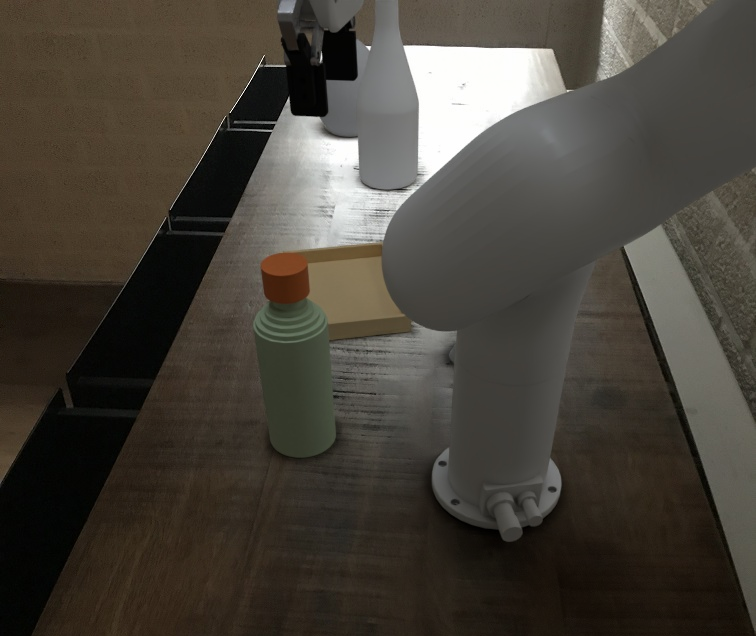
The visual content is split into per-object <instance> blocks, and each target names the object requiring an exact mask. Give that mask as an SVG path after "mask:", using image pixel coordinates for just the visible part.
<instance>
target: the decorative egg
mask: <svg viewBox="0 0 756 636" xmlns="http://www.w3.org/2000/svg"><path fill="white" fill-rule="evenodd" d="M356 45H357V66H358V77H357V78H356V80H355V81H338V80H326V83H327V97H328V110H329V111H328V114H327V115H326V116H325V117H319V119H320V121H321V123H322V124H323V126H324V127H325V128H326V130H327V131H328V132H329V133H330V134H332V135H335V136H337V137H344V138H353V137H358V127H357V98H358V94H359V89H360V85H361V82H362V78H363V75H364V71H365V67H366V63H367V60H368V56H369V52H370V49H369V48H368V46H366V45H365V43H363V42H362V41H361V40H360V39H358V38H356ZM320 63H322V59H321V60H320Z"/></svg>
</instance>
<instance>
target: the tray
mask: <svg viewBox="0 0 756 636" xmlns="http://www.w3.org/2000/svg"><path fill="white" fill-rule="evenodd" d="M382 246H383V241H378V242H368V243H358V244H347V245H337V246H336V245H335V246H327V247H325V246H324V247H316V248H306V249H295V250H285V251H282V253H296V254H299V255H302V256H303V257H305V258H306V260H307V262H308V274H309V285H310V293H309V295H308V296H307V297H306V298H308V299H309V300H311V301H312V302H314V303H315V304H317V305H319V306H320V307H321V308H322V309H323V311H324V312H325V314H326V315H327V318H328V330H329V341H335V340H345V339H353V338H364V337H371V336H382V335H389V334H401V333H408V332H409V333H410V332H412V320H410V319H409V318H408V317H407V316H405V315H404V314H403V313H402V312H401V311H400V310H399V308H398V307H397V306H396V305H395V303H394V302H393V300H392V299H391V297H390V295H389V293H388V290H387V288H386V285H385V282H384V278H383V272H382V260H381V256H382Z"/></svg>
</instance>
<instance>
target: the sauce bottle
mask: <svg viewBox="0 0 756 636" xmlns="http://www.w3.org/2000/svg"><path fill="white" fill-rule="evenodd" d="M252 328H253V334H254V342H255V348H256V354H257V361H258V362H257V363H258V368H259V369H258V370H259V375H260V382H261V388H262V394H263V395H262V396H263V401H264V402H263V403H264V408H265V414H266V423H267V428H268V434H269V440H270V444H271V446H272V447H273V449H274V450H276V452H278V453H280V454H281V455H284V456H286V457H290V458H296V459H299V458H300V459H302V458H311V457H315V456H318V455H321V454H322V453H324V452H326V451H327V450H329V449H330V448H331V447H332V445H333V444H334V443H335V441H336V438H337V428H336V427H337V426H336V415H335V413H336V412H335V401H334V388H333V386H334V385H333V373H332V371H333V370H332V359H331V358H332V357H331V347H330V340H329V330H328V318H327V315H326V314H325V312H324V311H323V309H322V308H321V307H320V306H319V305H317V304H315V303H314V302H312V301H311V300H309V299H308V298H305V299H303V300H301V301H298V302H295V303H290V304H279V303H274V302H272V301H270V300H268V302H267V303H266V304H264V305H263V307H262V308H260V309H259V310H258V312H257V313H256V315H255V317H254V319H253V322H252Z"/></svg>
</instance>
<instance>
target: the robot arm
mask: <svg viewBox="0 0 756 636" xmlns="http://www.w3.org/2000/svg"><path fill="white" fill-rule="evenodd" d="M275 1H276V2H275V3H276V8H277V13H276V14H277V15H276V19H277V23H278V26H279V31H280V34H281V37H280V43H281V44H280V45H281V47H282V49H283V63H284V65H285V70H286V80H287V82H286V83H287V90H288V100H289V111H290V114H291V115H292V116H294V117H306V118H307V117H308V118H320V117H325V116H326V115H327V114H328V111H329V110H328V97H327V83H326V80H338V81H355V80H356V78H357V77H358V66H357V45H356V39H357V31H356V30H355V29H356V25H357V24H356V22H357V21H356V15H357V14H358V13H359V11H360V10H361V9H362V8H363V7H364V3H365V0H275ZM307 36H311V43H310V41H309V39H308V37H307ZM321 60H322V63H320V62H321ZM755 168H756V0H715V1H714V2H713V3H711V4H710V5H708V6H707V7H706V8H705V9H703V10H702V11H701V12H700V13H699V14H698V15H696V16H695V17H694V18H693V19H692V20H691V21H689V22H688V23H687V24H686V25H685V26H684V27H683V28H682V29H681V30H679V31H678V32H677V33H675V34H674V35H672V37H670V38H669V39H667V40H666V41H665V42H663V43H662V44H661V45H660V46H658V47H657V48H656V49H653V51H651V52H650V53H648V54H647V55H646V56H644V57H643V58H641V59H640V60H639V61H637V62H635V63H634V64H632V65H631V66H629V67H628V68H626V69H625V70H623V71H621V72H619V73H617V74H614V75H613V76H609V77H607V78H604V79H601V80H597V81H595V82H592V83H589V84H586V85H583V86H581V87H578V88H575V89H572V90H570V91H567V92H564V93H561V94H559V95H556V96H553V97H549V98H548V99H547V98H546V99H544V100H542V101H539V102H537V103H534V104H530V105H528V106H526V107H523V108H521V109H518V110H517V111H514V112H513V113H511V114H509V115H507V116H505V117H503V118H502V119H500V120H499V121H497V122H495V123H494V124H492V125H491V126H489V127H488V128H486V129H484V131H482V132H480V133H479V134H478V135H477V136H476V137H474V138H473V139H472V140H471V141H470V142H469V143H467V144H466V145H465V146H464V147H463V148H462V149H460V150H459V151H458V152H457V153H456V154H455V155H454V156H453V157H452V158H451V159H449V160H448V161H447V162H446V163H445V164H444V165H443V166H442V167H441V168H439V169H438V170H437V171H436V172H435V173H433V175H432V176H430V177H429V178H428V179H427V180H426V181H425V182H424V183H423V184H422V185H420V186H419V187H418V188H417V189H416V190H415V191H414V192H413V193H411V195H410V196H408V197H407V199H405V201H403V203H402V204H401V205H399V207H398V209H397V210H396V211H395V212H394V214H393V216H392V217H391V219H390V220H389V222H388V225H387V227H386V230H385V234H384V235H383V236H384V238H383V241H382V242H383V246H382V256H381V260H382V272H383V278H384V282H385V285H386V288H387V290H388V293H389V295H390V297H391V299H392V300H393V302H394V303H395V305H396V306H397V307H398V308H399V310H400V311H401V312H402V313H403V314H404V315H405V316H407V317H408V318H409V319H410V320H411V322H412V323H414V324H416V325H418V326H420V327H423V328H426V329H429V330H431V331H436V332H456V335H455V343H456V348H455V360H454V363H453V376H452V377H453V379H452V394H451V395H452V396H451V412H450V428H449V429H450V430H449V444H448V445H449V446H448V447H447V448H445V449H444V450H443V451H442V452H441V454H440V455H439V456H438V457H437V458H436V460H435V461H434V464H433V466H432V471H431V488H432V492H433V494H434V496H435V499H436V500H437V502H438V503H439V505H440V506H441V508H443V509H444V510H445V511H446V512H448V514H449V515H451V516H453V517H454V518H456V519H458V520H459V521H461V522H463V523H466V524H468V525H471V526H474V527H478V528H482V529H489V530H497V531H499V534H500V537H501V539H502V540H503V541H505V542H506V543H507V542H508V543H510V542H511V543H512V542H516V541H517V540H519V539H520V538H521V537H522V536H523V528H525V527H527V526H530V527H537V526H540V525H541V524H543V521H544V520H543V519H544V518H545V517H546V516H548V515H549V514H550V513H551V512H552V511H553V510H554V509H555V507H556V505H557V504H558V502H559V500H560V497H561V491H562V486H563V485H562V476H561V473H560V470H559V467H558V466H557V464H556V463H555V462H554V461H553V459H552V458H551V454H552V449H553V444H554V439H555V432H556V428H557V421H558V417H559V411H560V410H559V409H560V406H561V399H562V393H563V389H564V383H565V377H566V372H567V367H568V362H569V357H570V351H571V347H572V341H573V336H574V331H575V326H576V322H577V318H578V315H579V314H578V313H579V311H580V307H581V303H582V300H583V297H584V295H585V292H586V289H587V287H588V284H589V282H590V279H591V277H592V274H593V271H594V269H595V267H596V264H597V262H598V260H599V259H601V258H603V257H606V256H607V255H609V254H612V253H613V252H615V251H617V250H619V249H621V248H623V247H625V246H627V245H629V244H631V243H632V242H635V241H636V240H638V239H640V238H641V237H643V236H646V235H647V234H648V233H651V232H652V231H653V230H655V229H656V228H658V227H659V226H661V225H662V224H663V223H665V222H666V221H668V220H669V219H670V218H672V217H673V216H675V215H676V214H677V213H679V212H680V211H682V210H684V209H685V208H687V207H688V206H690V205H691V204H693V203H694V202H696V201H698V200H700V199H702V198H703V197H704V196H706V195H708V194H710V193H711V192H713V191H715V190H716V189H719V188H720V187H722V186H724V185H726V184H727V183H729V182H732V181H733V180H735V179H736V178H738V177H740V176H742V175H744V174H746V173H748V172H749V171H751V170H753V169H755Z"/></svg>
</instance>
